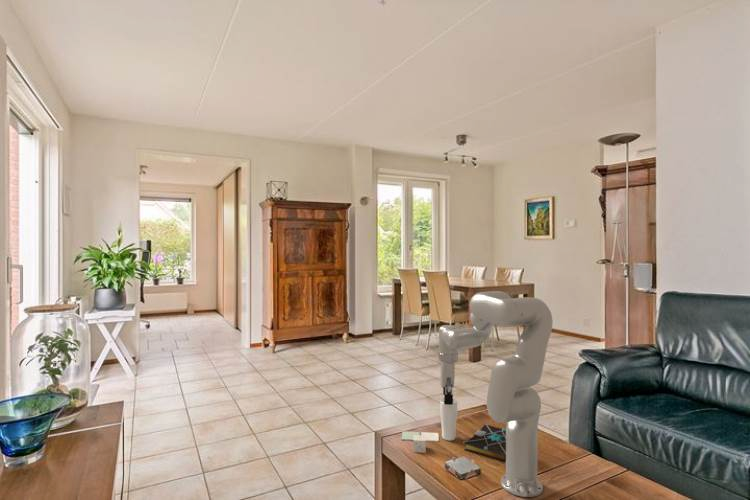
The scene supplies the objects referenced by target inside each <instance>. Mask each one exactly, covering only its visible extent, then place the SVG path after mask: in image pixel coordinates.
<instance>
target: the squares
mask: <svg viewBox="0 0 750 500" xmlns="http://www.w3.org/2000/svg"><path fill="white" fill-rule="evenodd" d="M414 435H425V436H426V442H434V443H435V442H436V443H437V442H438V443H439V442H440V439H439V432H429V431H428V432H426V431H425V432H424V431H423V432H422V431H406V430H405V431H402V434H401V441H412V442H413V439H414Z"/></svg>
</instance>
